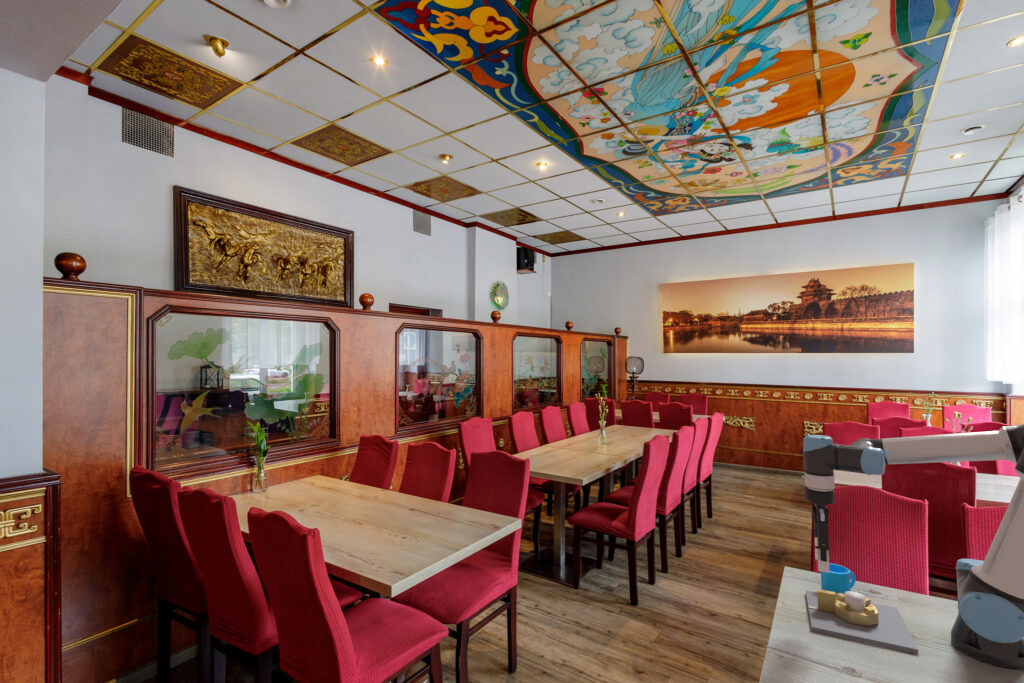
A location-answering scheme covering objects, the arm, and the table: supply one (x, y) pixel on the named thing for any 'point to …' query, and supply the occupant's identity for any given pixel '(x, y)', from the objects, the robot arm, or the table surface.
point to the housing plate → (883, 634)
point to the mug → (837, 579)
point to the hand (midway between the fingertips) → (822, 565)
